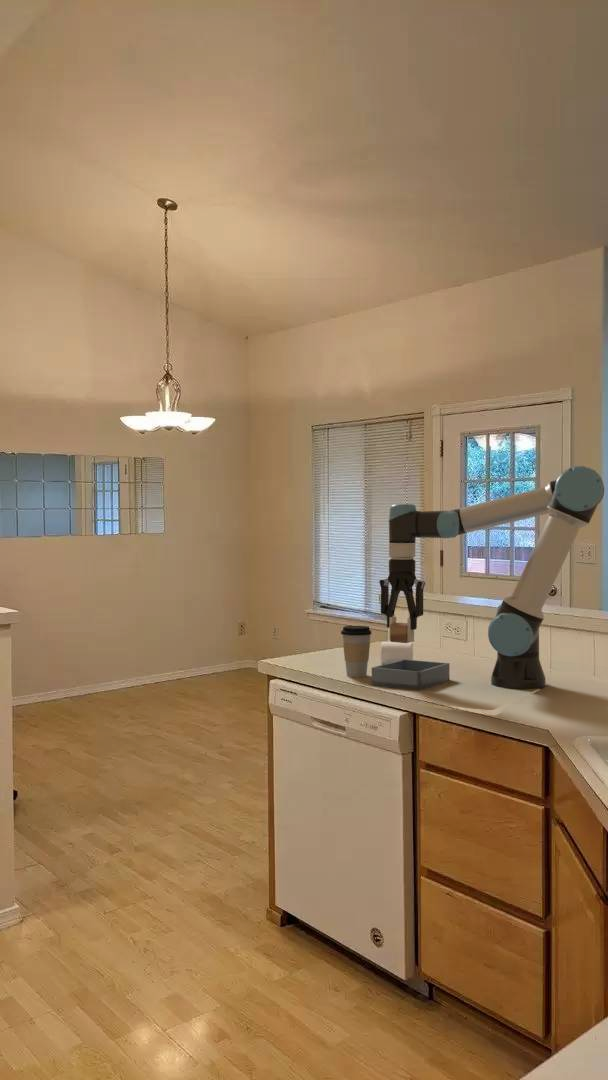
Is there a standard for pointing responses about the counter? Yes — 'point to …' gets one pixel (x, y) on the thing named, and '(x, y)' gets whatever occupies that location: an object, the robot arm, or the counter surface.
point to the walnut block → (398, 632)
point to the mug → (396, 651)
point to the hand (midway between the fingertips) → (401, 640)
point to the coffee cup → (356, 649)
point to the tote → (410, 674)
